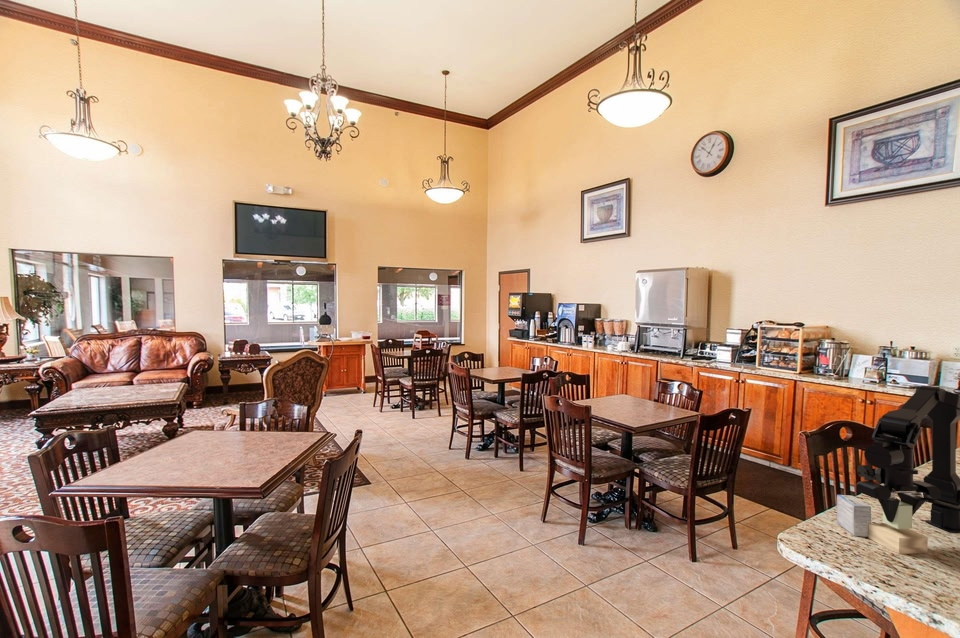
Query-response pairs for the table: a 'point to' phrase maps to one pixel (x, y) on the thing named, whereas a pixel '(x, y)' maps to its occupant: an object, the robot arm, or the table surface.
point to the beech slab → (898, 538)
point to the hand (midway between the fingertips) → (897, 521)
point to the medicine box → (853, 515)
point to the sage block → (901, 517)
